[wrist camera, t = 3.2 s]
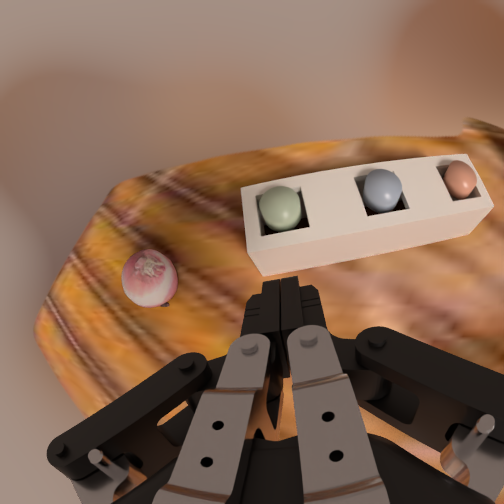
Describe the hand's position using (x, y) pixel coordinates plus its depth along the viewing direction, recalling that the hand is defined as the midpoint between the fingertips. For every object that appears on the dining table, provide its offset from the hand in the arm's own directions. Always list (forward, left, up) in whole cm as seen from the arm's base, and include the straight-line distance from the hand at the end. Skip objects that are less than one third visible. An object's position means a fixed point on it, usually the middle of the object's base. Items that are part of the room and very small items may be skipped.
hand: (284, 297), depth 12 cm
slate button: (-15, -6, -14) cm, 21 cm away
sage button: (-5, -11, -14) cm, 18 cm away
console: (-15, -6, -21) cm, 26 cm away
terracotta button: (-25, -2, -14) cm, 29 cm away
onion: (+13, -16, -21) cm, 30 cm away
